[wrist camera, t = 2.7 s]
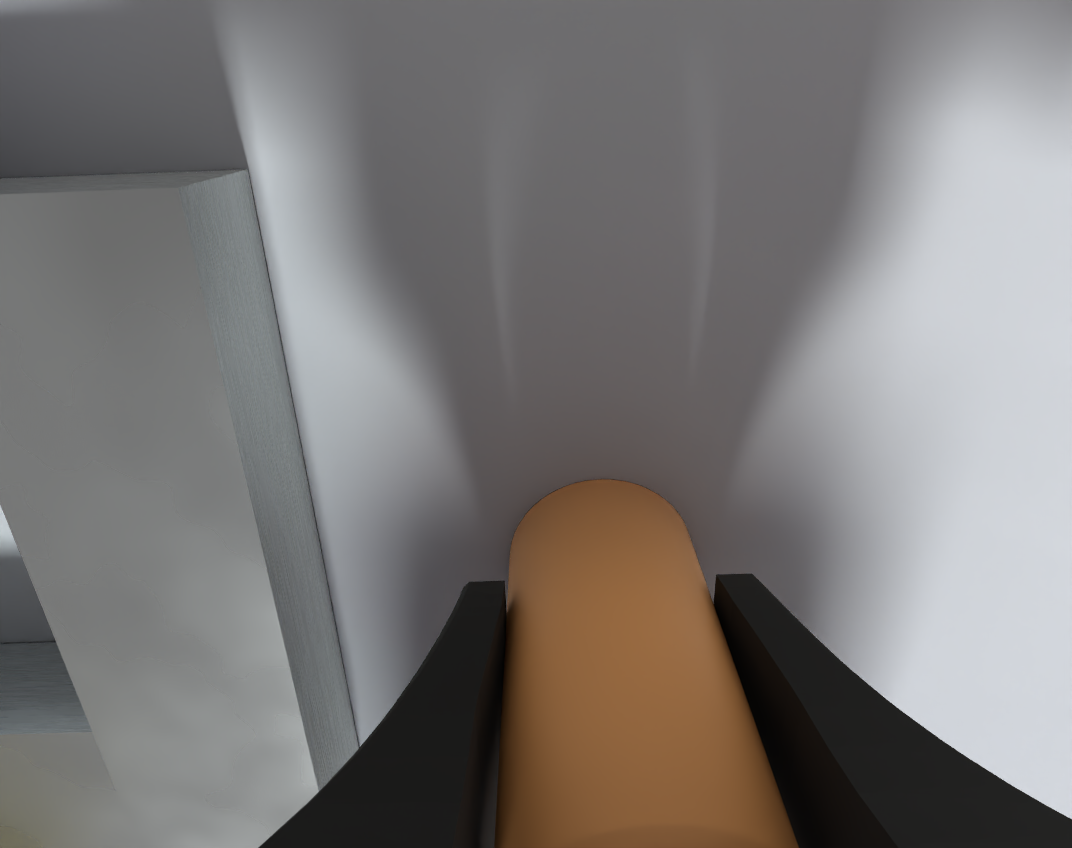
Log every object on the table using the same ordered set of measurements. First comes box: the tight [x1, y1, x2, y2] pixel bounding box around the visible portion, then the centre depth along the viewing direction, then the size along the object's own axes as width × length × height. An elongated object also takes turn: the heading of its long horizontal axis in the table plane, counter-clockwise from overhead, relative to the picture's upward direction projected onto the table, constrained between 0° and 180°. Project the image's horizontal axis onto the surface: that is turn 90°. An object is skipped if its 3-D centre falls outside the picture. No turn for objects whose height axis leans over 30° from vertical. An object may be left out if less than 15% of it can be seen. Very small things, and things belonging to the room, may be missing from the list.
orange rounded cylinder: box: [494, 479, 799, 848], centre depth 11 cm, size 4×4×7 cm
